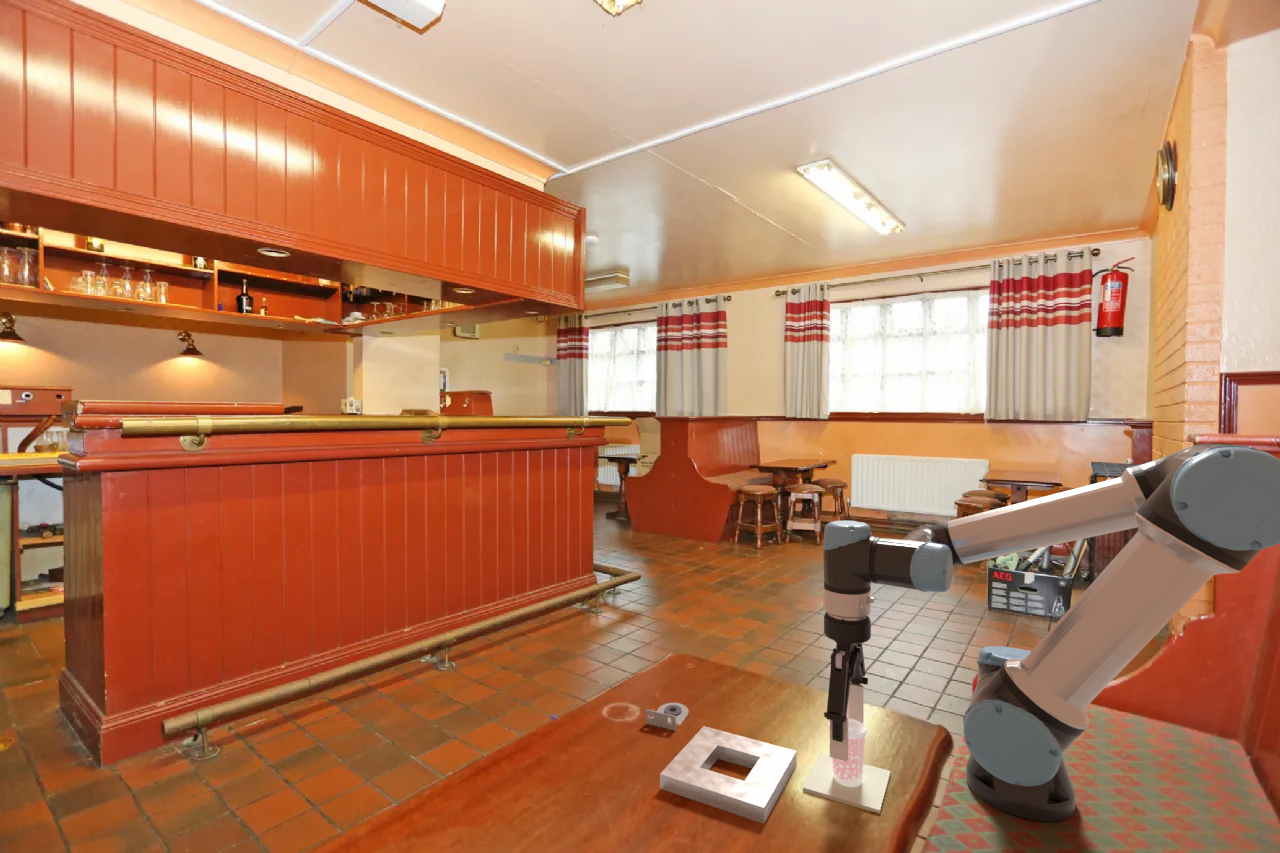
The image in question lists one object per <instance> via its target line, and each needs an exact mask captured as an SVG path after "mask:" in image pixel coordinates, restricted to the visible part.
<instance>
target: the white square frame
mask: <svg viewBox="0 0 1280 853" xmlns="http://www.w3.org/2000/svg"><path fill="white" fill-rule="evenodd" d="M718 760H720V761H721V760H722V761H725V762H727V763H731V764H733V765H734V764H735V765H739V766H741V767H745V768H749V769H751V770H750V772H749V773H748V774H747V776H746V777H745V779H744V780H743V779H739V778H736V777H733V776H729V775H726V774H723V773H719V772H716V771H713V770H710V769H711V768H712V767H713V765H714V764H715V763H716V762H717V761H718ZM797 763H798V762H797V750H794V749H791V748H787V747H783V746H780V745H776V744H772V743H769V742H764V741H761V740H757V739H753V738H749V737H747V736H742V735H739V734H734V733H731V732H727V731H724V730H721V729H716V728H712V727H708V726H705V725H703V726H701V728H700V730H699V731H698V732H697V733H695V735H694V736H693V737H692V738H691V739H690V740H689V742H688V743H687V744H686V745H685V746H684V747H683V748H682V749H681V750H680V751H679V753H678V754H677V755H676V756H675V757H674V758H673V759H672V760H671V761H670V762H669V763H668V765H666V767H665V768H664V769H663V770H662V771H661V772H660V774H659V789H660V790H662V791H666V792H668V793H671V794H674V795H678V796H680V797H684V798H687V799H689V800H692V801H694V802H698V803H701V804H704V805H707V806H710V807H712V808H715V809H719V810H722V811H724V812H727V813H730V814H733V815H737V816H740V817H742V818H746V819H747V820H750V821H754V822H757V823H760V824H762V825H764V824H765V823H766V821H767V819H768V818H769V816H770V815H771V813H772V810H773V808H774V807H775V805H776V803H777V801H778V800H779V798H780V796H781V794H782V793H783V790H784V789H785V787H786V785H787V783H788V781H789V780H790V777H791V776H792V774H793V772H794V771H795V769H796V767H797Z"/></svg>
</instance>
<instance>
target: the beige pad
mask: <svg viewBox="0 0 1280 853" xmlns="http://www.w3.org/2000/svg"><path fill="white" fill-rule="evenodd" d="M890 774H891V770H888V769H884V768H880V767H877V766H873V765H869V764H865V763H863V778H862V783H861V785H859V786H856V787H848V786H844V785H841V784H840V783H838V782H837V781H836V780H835V779H834V773H833V759H832V757H830V754H829V753H823V752H819V754H818V756H817V758H816V761H815V762H814V765H813V767H812V768H811V770H810V772H809V775H808V776H807V779H806V781H805V783H804V784H803V786H802V791H803V792H805V793H808V794H812V795H815V796H818V797H822V798H825V799H829V800H832V801H836V802H839V803H841V804H845V805H849V806H852V807H855V808H859V809H861V810H864V809H865V811H868V810H869V811H868V812H871V811H872V812H871V813H874V812H878V813H880V814H881V812H880V811H882V808H883V805H882V803H883V804H884V801H883V799H884V800H885V797H886V794H885V792H886V793H887V790H886V789H888V786H887V785H889V783H888V782H890V779H889V778H890V777H891V775H890ZM884 796H885V797H884ZM881 807H882V808H881ZM878 813H877V814H878Z"/></svg>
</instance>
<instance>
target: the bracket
mask: <svg viewBox="0 0 1280 853" xmlns="http://www.w3.org/2000/svg"><path fill="white" fill-rule="evenodd" d="M689 711H690V710H689V708H688V707H687V705H685V704H683V703H680V702H668V703H664V704H662V705H660V706H659V707H658V708H657V710H651V709H648V708H647V709H645V714H644V715H645V725H648V724H649V726H653V725H654V727H657V726H658V728H661V727H662V729H665V728H666V730H670V731H673V732H675V731H677V724H679V725H678V726H681V725H682V724H683V722H684V721H685V720H686V719H687V717H688V715H689V714H690V713H689ZM650 715H651V717H650ZM669 722H670V723H669Z"/></svg>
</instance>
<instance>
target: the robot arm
mask: <svg viewBox="0 0 1280 853" xmlns="http://www.w3.org/2000/svg"><path fill="white" fill-rule="evenodd" d="M1136 528H1137V529H1138V530H1137V532H1136V533H1135V534H1134V536H1133V537H1132V538H1131V539H1130V540H1129V541H1128V542H1127V543H1126V544H1125V545H1124V547H1123V548H1122V549H1120V551H1119V552H1118V553H1117V555H1115V557H1114V558H1113V559H1112V560H1111V561H1110V562H1109V564H1108V565H1107V566H1106V567H1105V568H1104V569H1103V570H1102V571H1101V573H1100V574H1099V575H1098V576H1097V577H1096V578H1095V580H1093V582H1092V583H1091V584H1090V585H1089V586H1088V587H1087V588H1086V590H1085V591H1084V592H1083V593H1081V595H1080V596H1079V597H1078V599H1077V600H1076V601H1075V602H1074V603H1073V604H1072V605H1071V606H1070V608H1069V609H1068V610H1067V611H1066V612H1065V613H1064V614H1063V616H1062V617H1061V618H1060V619H1059V620H1058V621H1057V622H1056V624H1055V625H1053V626H1052V628H1051V629H1050V630H1049V631H1048V633H1047V634H1046V635H1045V636H1044V637H1043V638H1042V639H1041V640H1040V642H1038V643H1037V645H1036V646H1035V647H1034V648H1033V650H1032V651H1031V650H1028V649H1022V648H1018V647H1017V648H1016V647H1009V646H1002V645H1001V646H999V645H998V646H996V645H992V646H991V645H989V646H985V647H981V649H980V650H979V652H978V658H977V660H976V664H977V665H978V666H977V667H978V671H977V676H978V677H977V683H976V686H975V690H974V692H973V694H972V697H971V700H970V703H969V705H968V708H967V709H966V711H965V712H964V716H963V718H962V719H963V720H962V721H963V723H962V724H963V730H962V731H963V737H964V741H965V744H966V746H967V748H968V750H969V752H970V755H969V757H968V760H967V762H966V783H967V784H968V787H969V788H970V789H971V790H972V792H973V793H974V794H975V795H976V796H977V797H978V798H980V800H982V801H984V802H986V803H987V804H989V805H990V806H992V807H994V808H996V809H998V810H1000V811H1002V812H1004V813H1007V814H1010V815H1013V816H1016V817H1018V818H1021V819H1022V818H1023V819H1027V820H1032V821H1036V822H1037V821H1039V822H1057V821H1063V820H1066V819H1069V818H1070V817H1072V816H1073V815H1074V813H1075V811H1076V792H1075V788H1074V786H1073V783H1072V781H1071V778H1070V774H1069V771H1068V769H1067V766H1066V764H1065V760H1064V757H1063V753H1064V752H1065V751H1066V750H1067V749H1068V748H1069V747H1070V746H1071V745H1072V743H1074V742H1075V740H1076V739H1077V738H1079V736H1080V735H1081V734H1082V733H1083V732H1084V731H1085V730H1086V729H1087V728H1088V727H1089V723H1090V722H1089V718H1088V714H1087V707H1088V706H1089V705H1090V704H1091V703H1093V701H1094V699H1096V698H1097V697H1098V696H1099V695H1100V693H1102V691H1103V690H1104V689H1106V687H1108V685H1109V684H1110V683H1111V682H1112V681H1113V680H1114V679H1115V678H1116V677H1117V676H1118V675H1119V674H1120V673H1121V672H1122V671H1123V670H1124V669H1125V667H1127V666H1128V664H1129V663H1130V662H1132V660H1133V659H1135V657H1136V656H1137V655H1139V653H1140V652H1141V651H1142V650H1143V649H1144V648H1145V647H1146V646H1147V645H1148V644H1149V643H1150V641H1152V640H1153V638H1155V636H1157V635H1158V634H1159V632H1160V631H1162V629H1163V628H1164V627H1165V626H1166V625H1167V624H1168V623H1169V622H1170V621H1171V620H1172V619H1173V618H1174V617H1175V616H1176V615H1177V614H1178V613H1179V612H1180V611H1181V610H1182V608H1183V607H1184V606H1186V605H1187V604H1188V602H1190V600H1192V598H1193V597H1194V596H1196V594H1197V593H1198V592H1199V591H1200V590H1201V589H1202V587H1204V586H1206V584H1207V582H1209V581H1210V580H1211V579H1212V578H1213V577H1214V576H1217V575H1224V574H1226V575H1227V574H1229V575H1230V574H1239V573H1240V572H1241V571H1242V570H1244V569H1245V567H1246V566H1247V565H1248V564H1249V563H1251V561H1252V560H1253V559H1254V558H1255V557H1256V556H1258V554H1259V553H1260V552H1261V551H1262V550H1264V549H1269V548H1271V547H1272V548H1273V547H1274V546H1276V545H1279V544H1280V458H1278V457H1276V456H1275V455H1273V454H1272V453H1270V452H1266V451H1263V450H1260V449H1257V448H1255V447H1252V446H1246V445H1237V444H1231V443H1223V442H1209V443H1200V444H1195V445H1193V446H1189V447H1186V448H1183V449H1181V450H1178V451H1176V452H1173V453H1171V454H1168V455H1165V456H1162V457H1159V458H1157V459H1155V460H1150V461H1148V462H1144V463H1141V464H1137V465H1134V466H1133V465H1132V466H1129V467H1127V468H1125V470H1124V472H1123V473H1122V475H1121V476H1118V477H1116V478H1112V479H1108V480H1104V481H1100V482H1096V483H1092V484H1088V485H1085V486H1080V487H1076V488H1073V489H1069V490H1063V491H1059V492H1056V493H1053V494H1049V495H1045V496H1041V497H1037V498H1033V499H1030V500H1025V501H1022V502H1018V503H1015V504H1010V505H1006V506H1003V507H998V508H994V509H991V510H986V511H983V512H979V513H975V514H971V515H968V516H964V517H960V518H955V519H951V520H949V521H945V522H941V523H937V524H933V525H932V524H924V525H921V526H918V527H915V528H913V529H912V530H910V531H909V533H908V534H907V535H905V536H904V537H903V538H902V539H900V538H898V539H897V538H888V537H879V536H875V535H872V532H871V531H872V530H871V526H870V525H869V524H868V523H866V522H861V521H855V520H833V521H830V522H828V523H826V525H825V526H824V529H823V530H824V532H823V534H824V535H823V547H822V551H823V554H822V555H823V610H824V611H825V612H824V613H823V633H824V635H825V637H827V638H828V639H830V640H831V641H834V642H835V643H836V646H835V647H834V648H833V649H832V652H831V655H830V670H829V671H830V673H829V684H828V692H827V693H828V694H827V706H826V712H825V711H824V712H823V716H824V718H825V719H826V720H828V721H830V731H829V755H830V757H832V758H835V759H839V760H843V761H848V719H847V716H846V715H847V707H848V699H849V718H851V719H855V720H857V721H859V722H862V723H863V724H864V685H868V684H869V683H868V682H869V678H868V677H865V676H866V674H867V672H866V667H865V666H866V665H865V656H864V650H863V643H867V642H868V641H869V640H870V639H871V638H872V625H871V624H872V623H871V622H872V619H871V617H870V614H871V604H874V603H875V598H874V597H872V596H870V595H871V590H872V588H871V584H877V585H883V586H884V585H885V586H889V587H897V588H904V589H908V590H909V589H910V590H916V591H920V592H923V593H926V592H927V593H928V592H933V593H946V592H947V591H949V589H950V588H951V583H952V579H953V570H954V569H953V568H954V567H955V568H956V567H958V566H963V565H966V564H971V563H975V562H980V561H986V560H989V559H994V558H999V557H1004V556H1008V555H1011V554H1012V555H1014V554H1018V553H1023V552H1027V551H1031V550H1032V551H1033V550H1037V549H1041V548H1046V547H1050V546H1055V545H1059V544H1060V545H1061V544H1064V543H1071V542H1075V541H1079V540H1084V539H1088V538H1089V539H1090V538H1094V537H1097V536H1103V535H1107V534H1111V533H1117V532H1121V531H1122V532H1123V531H1127V530H1131V529H1136Z"/></svg>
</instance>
